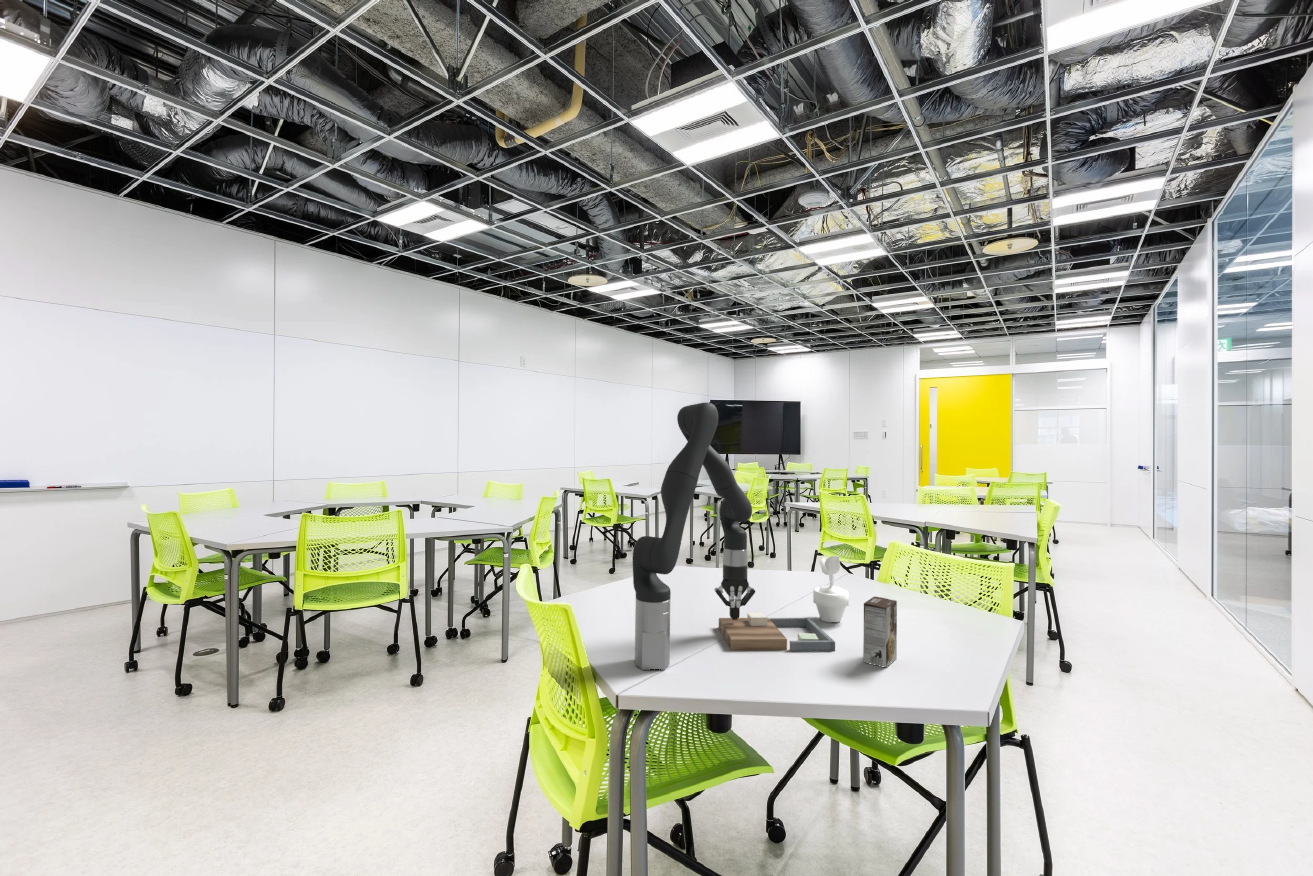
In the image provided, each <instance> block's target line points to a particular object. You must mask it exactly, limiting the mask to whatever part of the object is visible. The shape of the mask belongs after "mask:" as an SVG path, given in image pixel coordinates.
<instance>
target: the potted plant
mask: <svg viewBox="0 0 1313 876" xmlns="http://www.w3.org/2000/svg"><path fill="white" fill-rule="evenodd" d="M844 548H845V547H843V550H842V551H841V553H842V558H844V556H845V554H846V553H845V549H844ZM842 563H843V565H845V564H846V562H845V561H843V562H842ZM848 563H849V564H850V563H851V560H850V557H849V559H848ZM819 565H820V567H821V571H822V573H823V574H824V575H826V576H828V575H829V584H828V585H821V586H820V585H819V586H817V587H814V588H813V590H812V591H813V593H812V594H813V595H812V596H813V600H812V601H813V604H815V605H816V609H817V611H818V612H817V613H818V615H819V619H820V620H821V621H823V622H825V621H826V622H825V623H829V622H837V623H840V622H841V621H842V618H843V615H844V613H845V610H846V607H848V606H849V603H850V601H849V600H850V599H849V598H850V597H849V595H850V593H849V591H848V590H846V589H844V588H842V587H839V586H835V576H834V575H835V574H837V573H838V572H839V571H840V568H841V561H840V555H831V556H829V557H827V558H826V557H822V558H821V559H819Z"/></svg>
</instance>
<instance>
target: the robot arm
mask: <svg viewBox="0 0 1313 876" xmlns="http://www.w3.org/2000/svg"><path fill="white" fill-rule="evenodd" d="M676 419H677V425H678V428H679V430H680V431H681V434H682V435H683V436H684V438H685V440H686V441H687V442H686V444H685V445H684V446H683V448H682V449H681V450H680V451H679V452H678V454H677V455H676V456H675V457H674V458H673V459H672V461H671V462H670V464H669V465H668V467H667V469H666V471H665V475H664V477H663V480H662V483H661V487H660V496H661V497H660V498H661V502H662V504H663V509H664V512H665V519H666V520H665V526H664V531H663V534H662V536H661V537H657V536H650V535H649V536H648V535H644V536H640V537H639V538H638V539H637V540H636V541H635V544H634V546H633V551H632V579H633V580H632V581H633V582H632V584H633V589H634V591H635V612H634V613H635V614H634V616H635V618H634V619H635V621H634V622H635V623H634V628H635V629H634V664H636V665H637V666H636V665H635V666H636V667H638V666H639V667H638V668H640V670H641V671H651V670H650V669H654V670H653V671H655V669H659V670H660V669H661V670H662V671H663V670H666V668H667V667H669V665H670V663H671V661H670V659H671V656H670V655H671V653H670V652H671V650H670V649H671V646H670V645H671V595H672V594H671V588H670V586H669V585H667V584H666V583H664V582H663V581H662V580H661V579H660V578H659V576H658V575H668V574H670V573H671V572H673V570H674V569H675V567H676V565H677V561H678V559H679V555H680V550H681V545H682V540H683V536H684V535H683V534H684V530H685V526H686V522H687V517H688V514H689V510H690V508H691V503H692V502H693V498H694V495H695V492H696V489H697V485H698V481H699V477H700V474H701V472H702V471H701V470H702V468H703V467H704V470H705V472H706V474H707V475H708V478H709V480H710V483H711V484H712V487H713V489H714V492H715V493H716V494H717V496H718V497H721V498H722V499H723V500H722V501H721V503H720V505H719V518H720V522H721V528H722V530H723V535H724V537H723V553H722V581H721V582H720V585H719V586H718V587H715V588H714V592H715V594H716V595H717V596H718V597H719V598H720V599H721V602H722V603H724V606H726V607H729V618H732V620H737V619H738V618H740V615H741V614H740V613H741V611H740V608H741V607H745V606H746V605H747V604H748V603H749V601H750V600H751V599H752V598H753V596H754V595H755V594H756V590H755V589H754V588H753V587H751V586H750V583H749V581H748V561H749V559H748V557H749V556H748V549H747V548H748V534H747V531H746V530H745V529H743V528H742V527H741V526H740V523H746V522H748V521H749V520H750V519H751V517H752V515H753V507H752V504H751V501H750V499H749V498H748V496H747V495H746V494H745V492H744V491H743V489H742V488H741V487H740V486H739V485H738V483H737V480H736V477H735V475H734V474H733V471H732V469H731V467H730V465H729V464H728V462H727V461H726V460H725V458H724V457H723V456H721V454H720V453H719V452H718V451H716V450H715V449H714V448H713V447H712V446H711V443H712V440H713V438H714V436H715V433H716V430H717V428H718V425H719V412H718V409H717V407H716V406H715V404H713V403H711V402H700V403H699V402H698V403H694V404H690V405H686V406H683V407H681V408H680V409H679V410H678V413H677V417H676ZM724 592H725V593H726V594H727V595H728V600H727V598H726V597H725V595H723V593H724ZM745 592H746V593H745ZM744 593H745V594H744ZM742 596H743V597H742ZM661 670H660V671H661Z"/></svg>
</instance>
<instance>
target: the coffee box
mask: <svg viewBox="0 0 1313 876" xmlns="http://www.w3.org/2000/svg"><path fill="white" fill-rule="evenodd" d="M897 610H898V602H897V600H895V599H890V598H886V597H881V596H880V597H879V596H873V597H871V598H870V599H868V600H867V601H865V602H863V643H862V645H863V648H862V649H863V652H862V653H863V655H862V656H863V663H864V662H867V663H871V664H875V665H880V666H884V667H887V666H888V665H889V664H890V663H891V662H892V663H893V662H895V660H897V655H898V654H897V653H898V651H897V650H898V649H897V644H898V642H897V640H898V639H897V633H898V631H897V630H898V629H897V628H898V624H897V619H898V618H897V617H898V616H897V615H898V614H897V613H898V611H897ZM867 663H866V664H867ZM892 663H891V664H892ZM871 664H870V665H871ZM891 664H890V665H891ZM875 665H874V666H875ZM890 665H889V666H890ZM889 666H888V667H889ZM888 667H887V668H888Z"/></svg>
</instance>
